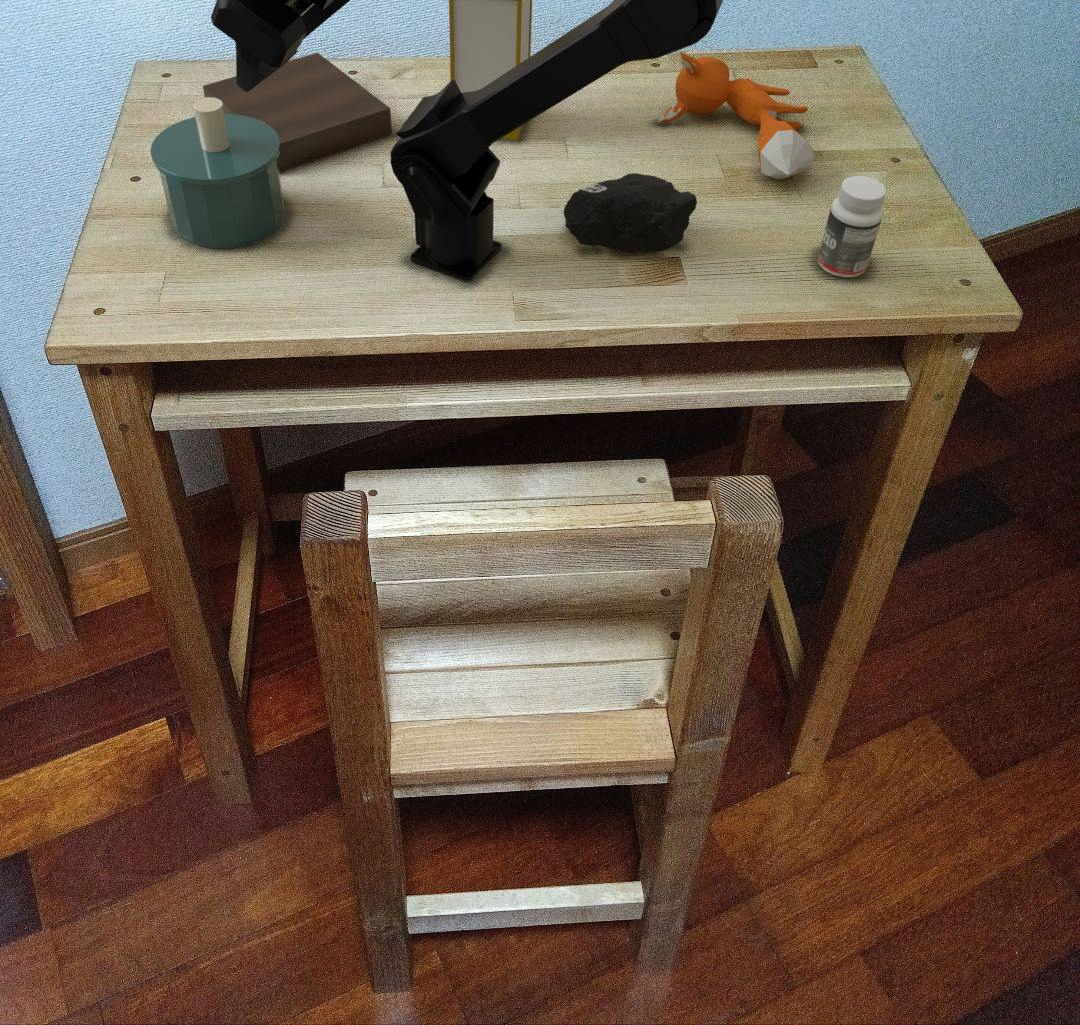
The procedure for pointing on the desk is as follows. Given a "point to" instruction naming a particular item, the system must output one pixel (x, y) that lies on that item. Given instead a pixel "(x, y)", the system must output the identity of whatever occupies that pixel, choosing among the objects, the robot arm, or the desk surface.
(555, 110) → the desk surface
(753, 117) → the toy
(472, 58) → the white and yellow box
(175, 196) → the jar
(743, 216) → the desk surface
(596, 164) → the desk surface
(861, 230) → the pill bottle
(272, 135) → the lid
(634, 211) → the rock
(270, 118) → the board
